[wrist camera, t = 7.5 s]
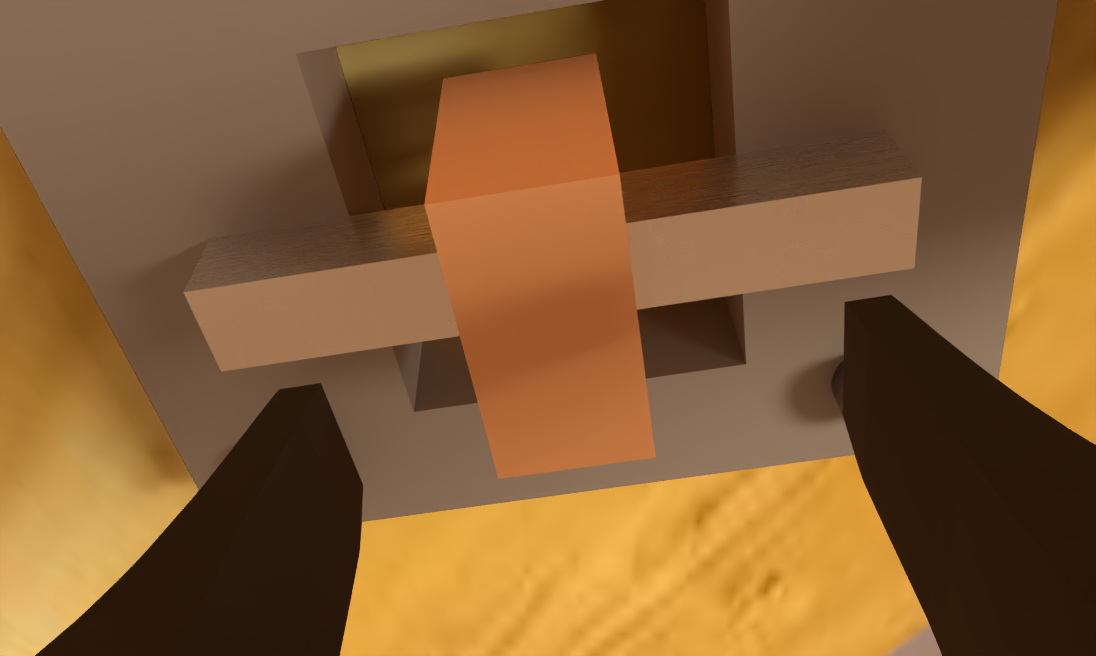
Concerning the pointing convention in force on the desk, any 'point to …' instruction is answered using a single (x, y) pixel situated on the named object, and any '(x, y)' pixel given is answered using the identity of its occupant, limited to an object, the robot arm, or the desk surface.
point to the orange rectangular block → (540, 265)
